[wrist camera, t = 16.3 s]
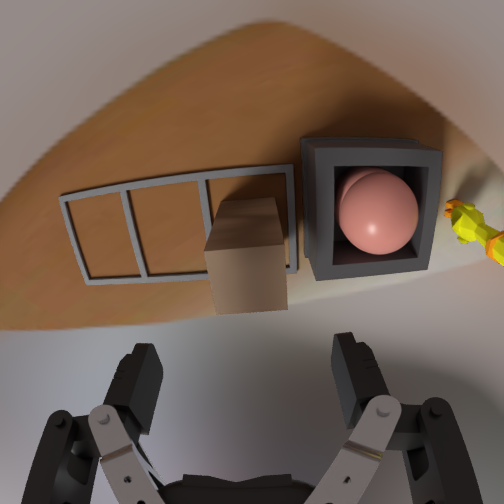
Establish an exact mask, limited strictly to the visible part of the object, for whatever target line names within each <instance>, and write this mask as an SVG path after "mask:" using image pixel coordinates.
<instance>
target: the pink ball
mask: <svg viewBox="0 0 504 504" xmlns="http://www.w3.org/2000/svg"><path fill="white" fill-rule="evenodd" d="M334 219H335V220H336V222H337V223H338V225H339V226H340V228H341V229H342V231H343V233H344V234H345V236H346V237H347V238H348V240H349V241H350V242H351V243H352V244H353V245H355V246H356V247H357V248H359V249H360V250H362V251H365V252H367V253H371V254H388V253H392V252H394V251H397V250H398V249H400V248H402V247H403V246H404V245H405V244H406V243H407V242H408V241H409V240H410V239H411V237H412V236H413V234H414V232H415V230H416V227H417V223H418V205H417V201H416V198H415V196H414V194H413V192H412V190H411V189H410V187H409V186H408V185H407V184H406V183H405V182H404V181H403V180H402V179H400V178H399V177H397V176H395V175H394V174H392V173H390V172H388V171H386V170H385V169H383V168H381V167H379V166H353V167H351V168H349V169H347V170H346V171H345V172H343V173H342V174H341V175H340V176H339V178H338V179H337V180H336V182H335V184H334Z"/></svg>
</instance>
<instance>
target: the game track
mask: <svg viewBox="0 0 504 504" xmlns="http://www.w3.org/2000/svg"><path fill="white" fill-rule="evenodd" d="M271 173H286V189H287V209H288V232H289V260H290V267H286V274H295V273H297V257H296V220H295V194H294V173H293V164H285V165H269V166H256V167H244V168H233V169H223V170H213V171H204V172H196V173H188V174H180V175H173V176H166V177H159V178H152V179H146V180H140V181H134V182H128V183H122V184H116V185H111V186H106V187H100V188H95V189H90V190H86V191H81V192H76V193H71V194H67V195H63V196H59V197H58V198H59V202H60V205H61V209H62V213H63V216H64V220H65V223H66V227H67V230H68V234H69V237H70V240H71V243H72V246H73V249H74V252H75V255H76V258H77V261H78V264H79V267H80V269H81V272H82V275H83V278H84V280H85V283H86V285H106V284H131V283H153V282H172V281H191V280H208V279H209V276H208V272H203V273H187V274H170V275H153V276H148V273H147V269H146V266H145V262H144V258H143V255H142V251H141V247H140V243H139V239H138V235H137V231H136V227H135V223H134V219H133V214H132V210H131V206H130V201H129V196H128V192H127V190H131V189H138V188H144V187H151V186H158V185H165V184H172V183H180V182H188V181H196V180H197V181H198V188H199V194H200V201H201V208H202V214H203V221H204V227H205V233H206V239H207V240H208V237H209V234H210V231H211V228H212V222H211V215H210V208H209V201H208V194H207V187H206V180H205V179H214V178H224V177H234V176H246V175H258V174H271ZM119 191H120V195H121V200H122V204H123V208H124V213H125V217H126V221H127V225H128V229H129V233H130V237H131V241H132V245H133V248H134V252H135V256H136V259H137V263H138V266H139V270H140V273H141V276H134V277H115V278H94V279H90V277H89V274H88V271H87V269H86V266H85V263H84V260H83V257H82V254H81V251H80V248H79V245H78V242H77V239H76V235H75V232H74V229H73V225H72V222H71V218H70V215H69V211H68V207H67V203H66V202H67V201H71V200H76V199H81V198H86V197H91V196H97V195H102V194H108V193H113V192H119Z"/></svg>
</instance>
